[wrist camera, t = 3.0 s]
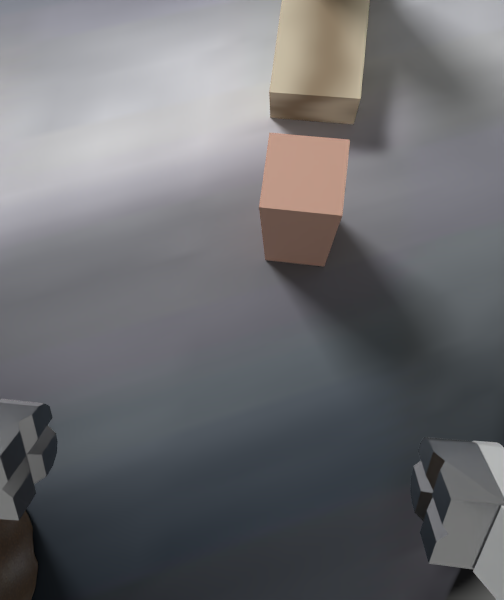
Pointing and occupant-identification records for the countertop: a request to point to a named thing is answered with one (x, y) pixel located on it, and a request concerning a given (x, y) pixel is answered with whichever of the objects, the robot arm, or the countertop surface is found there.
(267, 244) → the loose post
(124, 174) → the countertop surface
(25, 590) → the plant pot
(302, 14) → the base
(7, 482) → the robot arm
